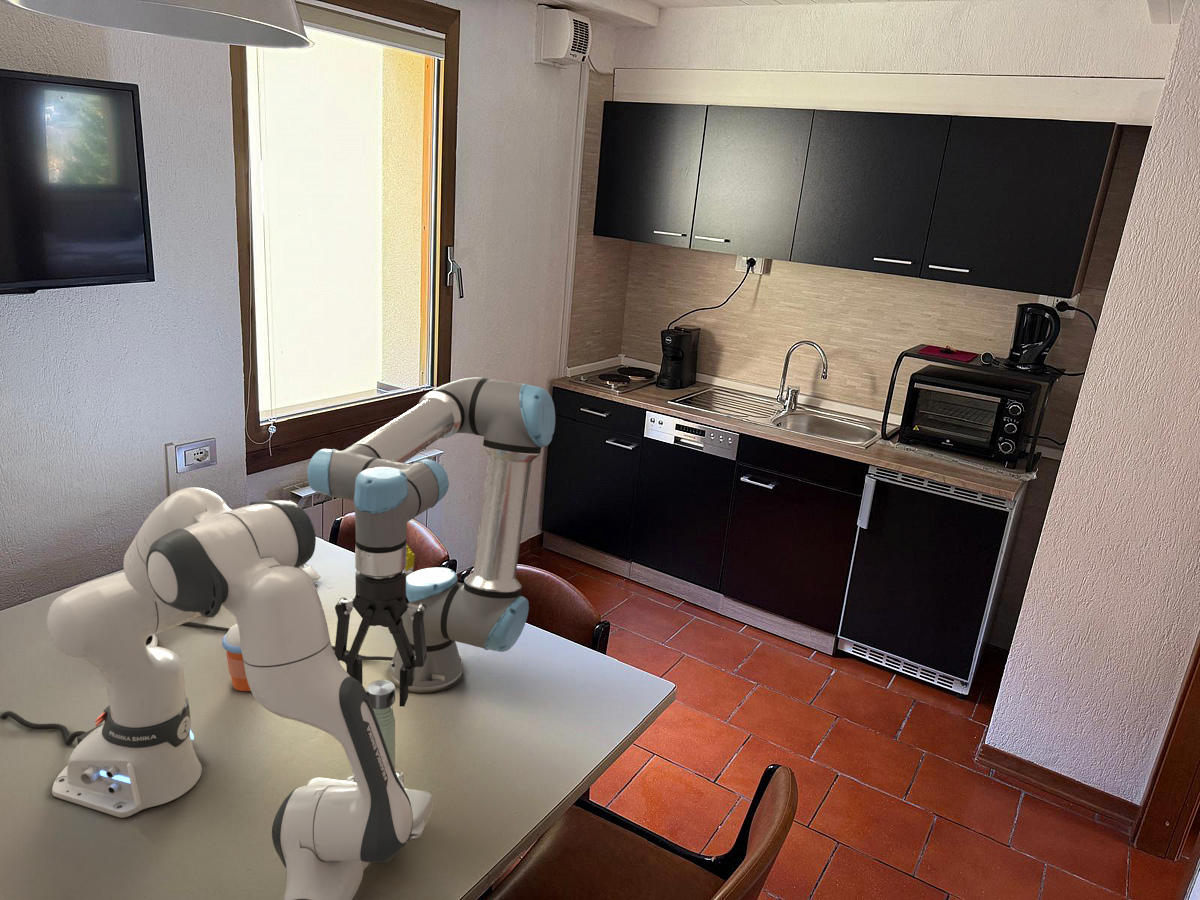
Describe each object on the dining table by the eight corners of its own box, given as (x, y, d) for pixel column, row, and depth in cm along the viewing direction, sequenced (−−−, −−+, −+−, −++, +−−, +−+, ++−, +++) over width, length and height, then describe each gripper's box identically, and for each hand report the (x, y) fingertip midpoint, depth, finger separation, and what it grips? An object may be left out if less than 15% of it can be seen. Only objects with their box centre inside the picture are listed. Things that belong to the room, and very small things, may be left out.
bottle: (369, 800, 145) (368, 682, 138) (396, 800, 145) (397, 683, 139) (364, 819, 140) (363, 699, 134) (392, 819, 141) (393, 699, 134)
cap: (399, 695, 139) (399, 681, 138) (389, 711, 134) (389, 697, 134) (372, 691, 139) (372, 678, 138) (362, 707, 135) (362, 693, 134)
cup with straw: (256, 699, 169) (252, 618, 164) (214, 691, 170) (209, 610, 165) (281, 675, 177) (278, 597, 172) (242, 667, 179) (238, 590, 174)
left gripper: (419, 824, 127) (444, 765, 140) (286, 807, 128) (323, 749, 142) (418, 859, 129) (443, 797, 142) (287, 841, 130) (323, 781, 143)
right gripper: (450, 563, 133) (446, 691, 140) (324, 553, 133) (327, 682, 140) (440, 584, 126) (437, 718, 133) (308, 574, 126) (311, 708, 133)
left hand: (382, 773), depth 142 cm, fingers closed on bottle, 4 cm apart
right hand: (380, 699), depth 137 cm, fingers open, 7 cm apart
